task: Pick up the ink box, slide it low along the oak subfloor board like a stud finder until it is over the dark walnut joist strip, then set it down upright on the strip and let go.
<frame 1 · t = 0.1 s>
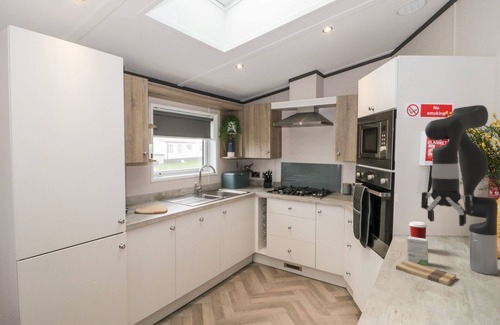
hand: (446, 223, 88), 29 cm above the worktop, fingers open, 8 cm apart
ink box: (417, 262, 126), on the worktop
coffee cup: (418, 249, 142), on the worktop
subfloor board: (424, 273, 114), on the worktop
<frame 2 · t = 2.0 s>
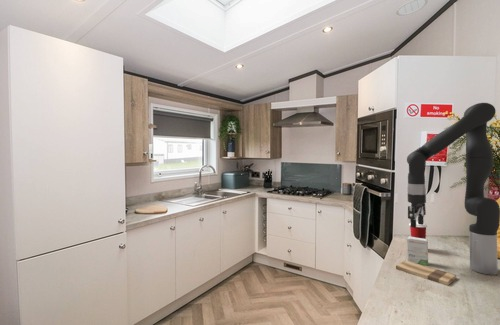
hand: (417, 225, 125), 18 cm above the worktop, fingers open, 8 cm apart
nothing on the worktop moved.
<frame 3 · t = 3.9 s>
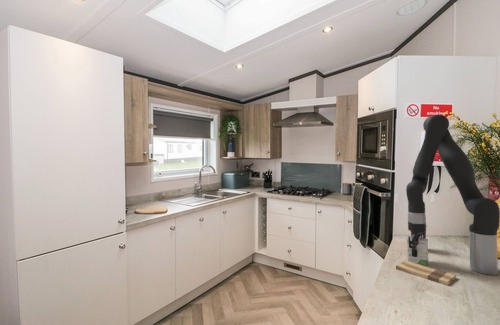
hand: (417, 254, 126), 4 cm above the worktop, fingers closed on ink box, 6 cm apart
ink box: (417, 262, 126), on the worktop, touching gripper
everything else where it was.
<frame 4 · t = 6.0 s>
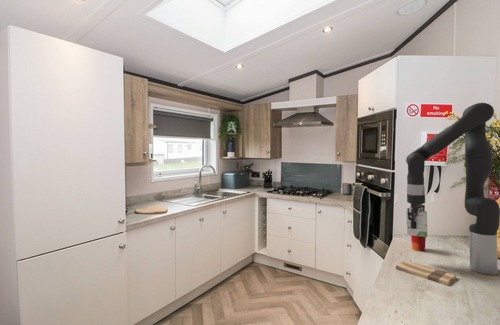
hand: (416, 227, 125), 17 cm above the worktop, fingers closed on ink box, 6 cm apart
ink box: (416, 235, 125), point 14 cm above the worktop, touching gripper
everything else where it was.
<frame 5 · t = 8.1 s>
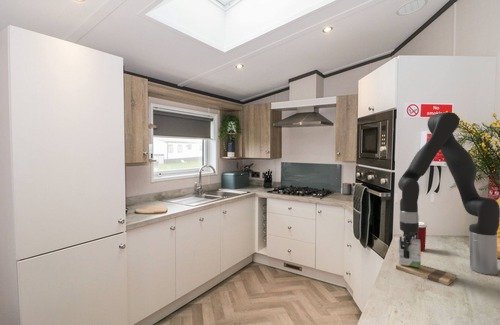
hand: (409, 256, 118), 6 cm above the worktop, fingers closed on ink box, 6 cm apart
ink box: (409, 264, 118), point 2 cm above the worktop, touching gripper
everything else where it was.
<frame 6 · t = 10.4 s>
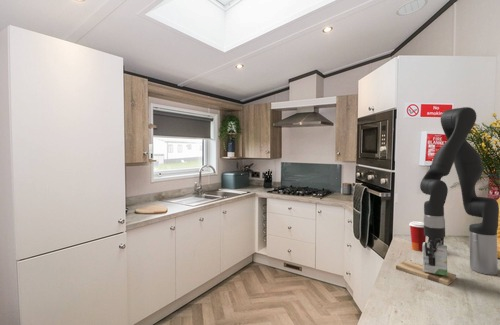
hand: (435, 263, 110), 6 cm above the worktop, fingers closed on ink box, 6 cm apart
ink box: (435, 272, 111), point 2 cm above the worktop, touching gripper
everything else where it was.
when the fingers open (5 cm above the worktop, at t = 12.5 s): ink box stays where it is, resting on subfloor board.
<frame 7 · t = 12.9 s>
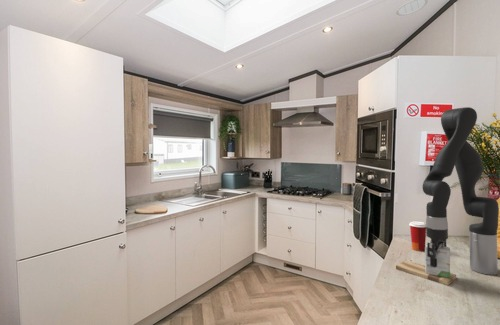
hand: (437, 263, 109), 6 cm above the worktop, fingers open, 8 cm apart
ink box: (437, 274, 110), point 1 cm above the worktop, touching subfloor board
everything else where it was.
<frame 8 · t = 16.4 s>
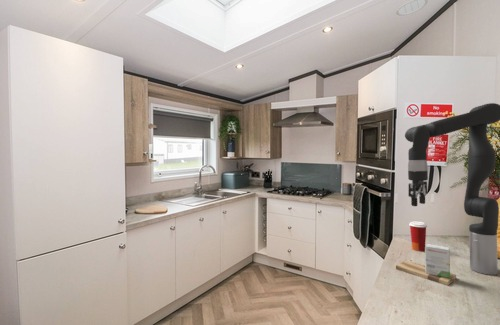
hand: (418, 204, 117), 30 cm above the worktop, fingers open, 8 cm apart
nothing on the worktop moved.
at the end: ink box 0.2 cm from the target spot, point 1.3 cm above the worktop; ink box tilted 0°; the gripper is holding nothing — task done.
